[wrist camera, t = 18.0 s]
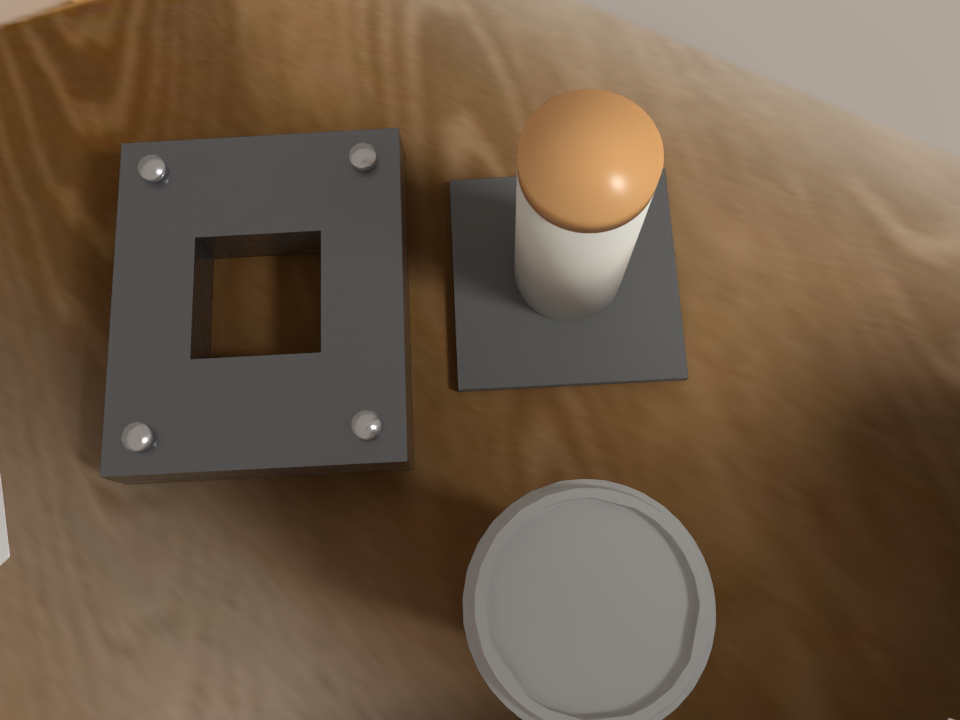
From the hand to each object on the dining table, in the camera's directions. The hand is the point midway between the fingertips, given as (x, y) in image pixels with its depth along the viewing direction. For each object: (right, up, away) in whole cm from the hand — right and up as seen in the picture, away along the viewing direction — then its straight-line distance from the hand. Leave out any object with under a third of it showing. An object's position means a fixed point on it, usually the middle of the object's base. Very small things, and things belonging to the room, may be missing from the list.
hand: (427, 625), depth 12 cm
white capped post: (+5, +8, +35) cm, 37 cm away
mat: (+5, +8, +36) cm, 37 cm away
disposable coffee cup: (+5, -8, +32) cm, 33 cm away
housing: (-11, +6, +36) cm, 38 cm away
